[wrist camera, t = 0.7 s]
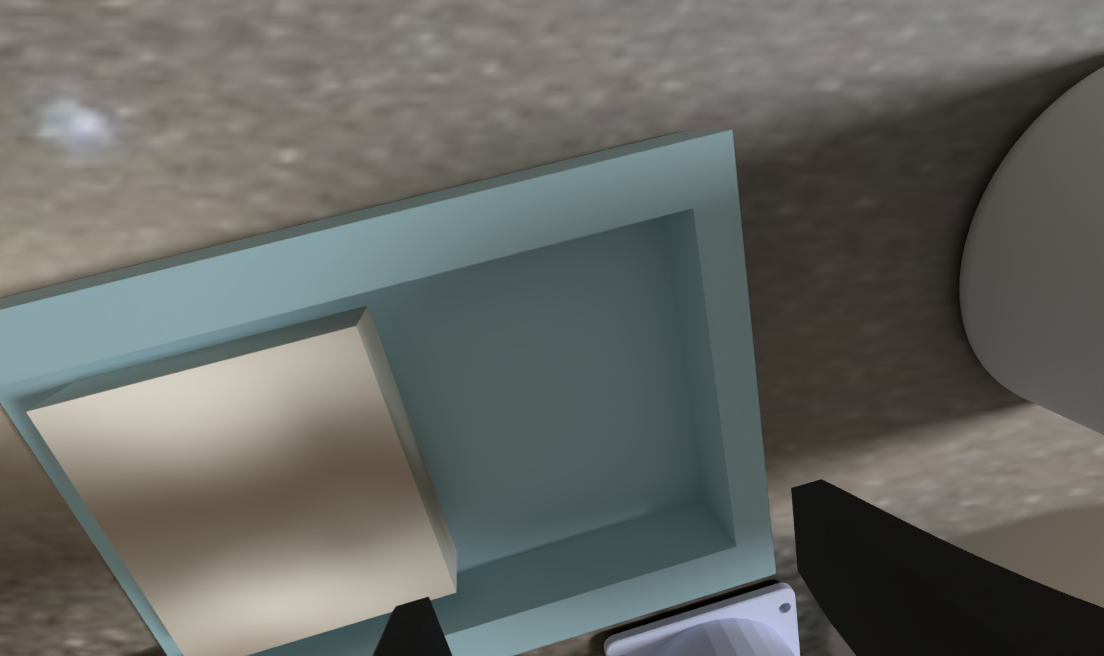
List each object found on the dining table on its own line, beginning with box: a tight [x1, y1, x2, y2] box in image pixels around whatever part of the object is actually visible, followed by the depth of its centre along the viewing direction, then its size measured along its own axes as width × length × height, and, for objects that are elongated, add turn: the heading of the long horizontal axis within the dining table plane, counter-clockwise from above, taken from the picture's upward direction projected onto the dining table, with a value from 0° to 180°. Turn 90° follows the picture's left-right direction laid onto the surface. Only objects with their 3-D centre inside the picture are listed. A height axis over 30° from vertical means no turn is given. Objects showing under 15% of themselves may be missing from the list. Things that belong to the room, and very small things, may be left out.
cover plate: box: [26, 306, 457, 656], centre depth 16 cm, size 9×8×2 cm
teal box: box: [0, 129, 776, 656], centre depth 16 cm, size 20×14×3 cm
